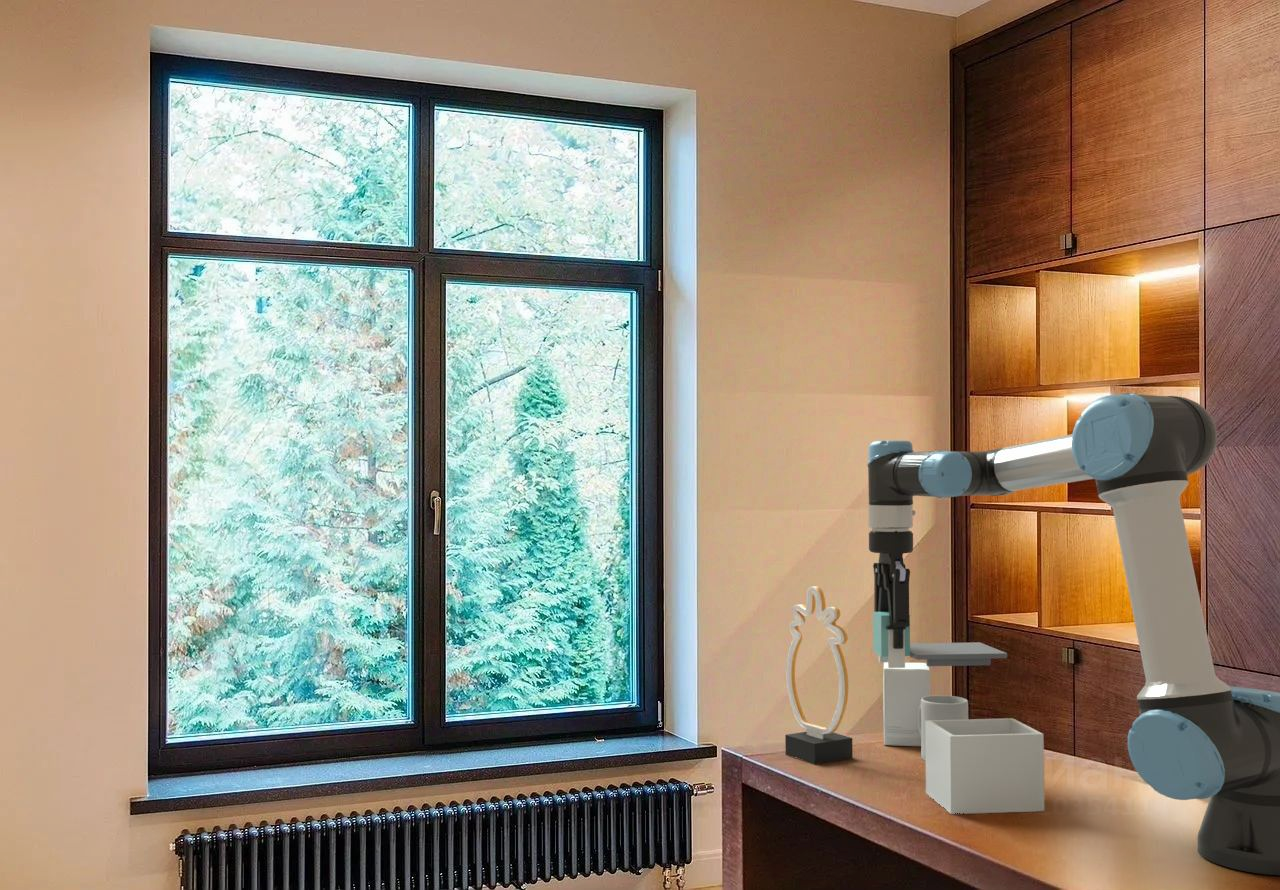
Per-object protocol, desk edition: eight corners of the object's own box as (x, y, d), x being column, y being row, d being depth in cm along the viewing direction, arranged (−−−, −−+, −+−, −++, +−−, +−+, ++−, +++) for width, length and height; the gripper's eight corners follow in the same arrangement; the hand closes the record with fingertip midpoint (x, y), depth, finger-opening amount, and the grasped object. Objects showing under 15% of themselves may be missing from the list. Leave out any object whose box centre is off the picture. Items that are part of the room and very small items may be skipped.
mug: (978, 762, 221) (978, 701, 222) (940, 766, 218) (939, 705, 218) (938, 748, 232) (937, 690, 233) (900, 752, 229) (900, 694, 229)
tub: (1044, 811, 190) (1043, 734, 190) (950, 814, 188) (950, 736, 189) (1013, 790, 202) (1013, 718, 202) (925, 793, 200) (925, 720, 201)
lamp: (867, 762, 221) (865, 588, 222) (828, 769, 217) (827, 591, 217) (809, 744, 236) (808, 581, 236) (772, 750, 231) (771, 583, 232)
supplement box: (931, 748, 233) (930, 669, 233) (883, 746, 234) (882, 668, 235) (929, 737, 242) (929, 662, 242) (883, 735, 243) (883, 660, 244)
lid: (1007, 666, 205) (1006, 616, 205) (888, 668, 203) (887, 618, 203) (979, 654, 217) (979, 607, 218) (867, 656, 216) (866, 609, 216)
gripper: (929, 532, 201) (929, 673, 201) (896, 526, 219) (897, 656, 219) (884, 532, 201) (885, 674, 200) (855, 527, 219) (856, 656, 218)
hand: (891, 664), depth 210 cm, fingers closed on lid, 5 cm apart
